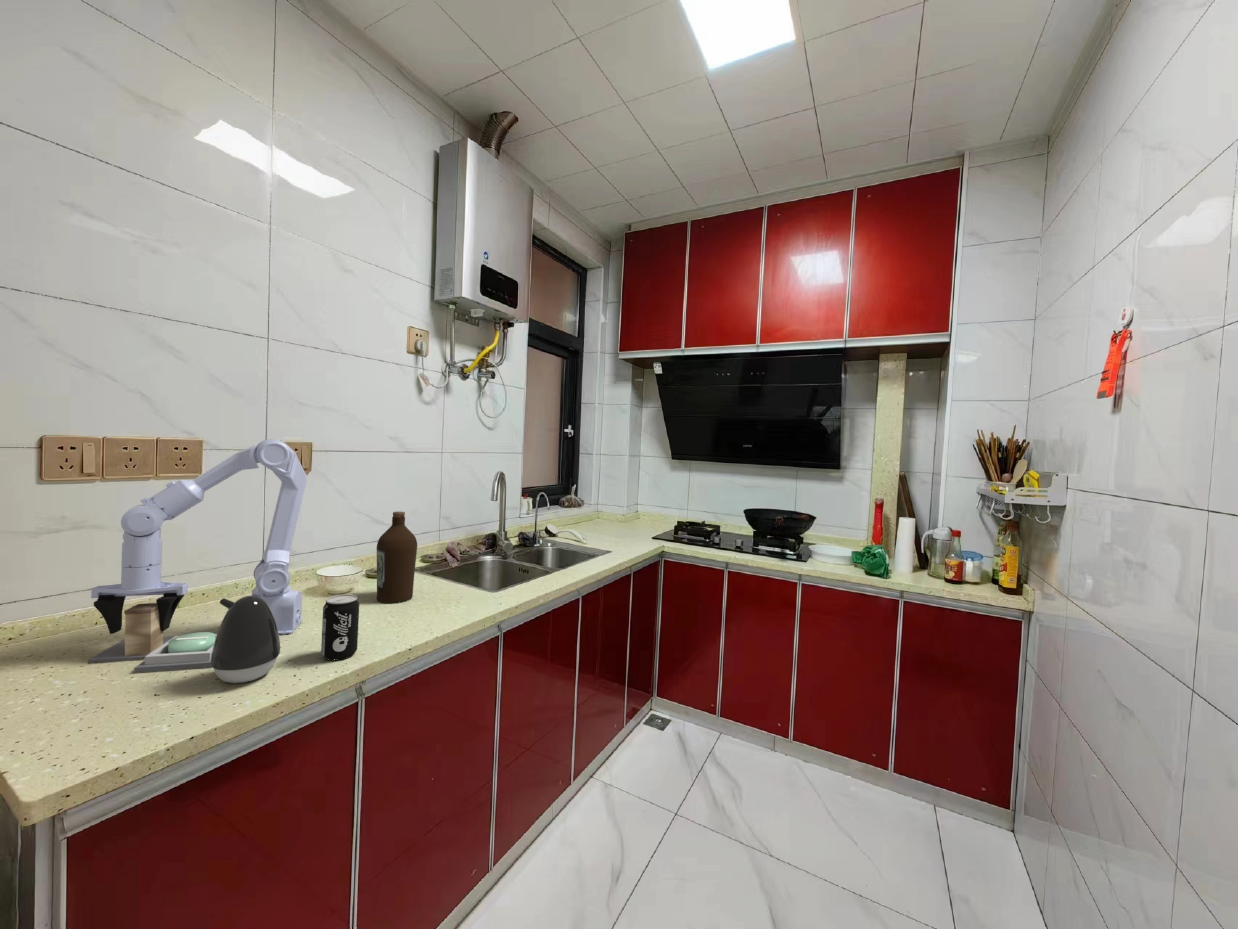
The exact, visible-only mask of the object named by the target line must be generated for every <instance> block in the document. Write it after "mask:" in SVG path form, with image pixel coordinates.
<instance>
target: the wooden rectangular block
mask: <svg viewBox="0 0 1238 929" xmlns="http://www.w3.org/2000/svg"><path fill="white" fill-rule="evenodd" d="M124 620H125V621H124V623H125V624H124V639H125V656H134V655H147V654H150V653H151V652H153V651H154V650H156V649H157V648H159V647H160V646H162V645H163V637H164V631H161V630H160V622H159V610H158V605H157V602H153V603H149V602H148V603H137V604H136V605H134V606H131V607H129V608H127V609H125V610H124Z"/></svg>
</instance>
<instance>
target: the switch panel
mask: <svg viewBox="0 0 1238 929" xmlns="http://www.w3.org/2000/svg"><path fill="white" fill-rule="evenodd" d="M214 634H215V638H216V635H217V633H214ZM178 636H179V635H175V636H173V637H174V638H176V637H178ZM172 639H173V638H172ZM172 639H171V640H172ZM169 641H170V640H169ZM169 641H168V642H169ZM168 642H166V643H165V644H163V645H162V646H160V647H159V648H157V649H156V650H154V651H153V652H151V653H150V654H148V655H147V656H146V657H145V660H142V662H140V663H139V664H138V665H136V666H135V667H133V673H134V674H139V673H138V672H142V673H151V672H152V673H153V672H169V671H181V670H182V671H183V670H185V671H186V670H195V669H196V670H197V669H209V668H212V669H214V668H213V667H212V666H211V655H212V650H213V646H214V645H213V646H212V647H211V648H210V649H208V650H207V651H200V652H184V653H168Z"/></svg>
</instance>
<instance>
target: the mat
mask: <svg viewBox="0 0 1238 929" xmlns="http://www.w3.org/2000/svg"><path fill="white" fill-rule="evenodd" d="M174 637H175V636H163V644H165V643H166V642H168V641H169V640H171V639H172V638H174ZM147 655H148V654H147ZM147 655H134V656H125V638H123V639H122V640H120V641H118V642H116V643H115V644H113V645H111V646H109V647H108V648H106V649H105V650H103V651H101V652H99V653H98V654H96V655H94V656H92V657H91V658H89V659H88V660H87V663H88V664H93V663H92V662H99V663H111V662H113V661H114V662H126V661H125V660H130V661H141V660H142V659H145V657H146V656H147ZM140 659H141V660H140ZM122 660H124V661H122ZM110 661H111V662H110ZM142 661H143V660H142ZM114 662H113V663H114Z"/></svg>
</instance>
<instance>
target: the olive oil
mask: <svg viewBox="0 0 1238 929" xmlns="http://www.w3.org/2000/svg"><path fill="white" fill-rule="evenodd" d="M405 514H406V512H405V511H393V512H392V518H391V519H392V520H391V521H392V522H391V526H389V527H388V529H387V530H385V531H384V533H382V534H381V536H380V537H379V538H378V540H377V544H376V600H377V601H378V602H379V603H383V604H398V603H399V602H400V603H403V601H405V602H408V601H410V600H411V599H412V598H413V596H414V595H413V594H414V582H415V573H416V572H415V571H416V565H417V564H416V561H417V554H418V542H417V538H416V536H415V535H414V534H413V532H412V531H411V530H410V529H409V528H408V527H407V526H406V524H405V523H406V516H405ZM409 599H410V600H409ZM407 600H408V601H407Z"/></svg>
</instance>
